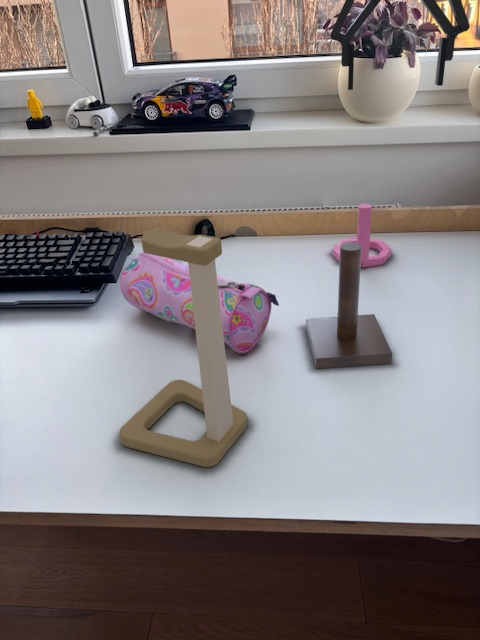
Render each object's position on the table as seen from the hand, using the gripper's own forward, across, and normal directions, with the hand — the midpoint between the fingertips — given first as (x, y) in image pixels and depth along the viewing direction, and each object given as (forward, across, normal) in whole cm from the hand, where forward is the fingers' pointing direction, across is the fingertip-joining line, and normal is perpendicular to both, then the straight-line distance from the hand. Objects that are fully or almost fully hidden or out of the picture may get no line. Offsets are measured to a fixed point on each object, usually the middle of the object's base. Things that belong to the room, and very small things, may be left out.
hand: (393, 87), depth 86 cm
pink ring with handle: (+24, -4, -10) cm, 27 cm away
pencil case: (+26, -27, -34) cm, 50 cm away
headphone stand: (+27, -23, -54) cm, 64 cm away
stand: (+26, -7, -37) cm, 45 cm away
